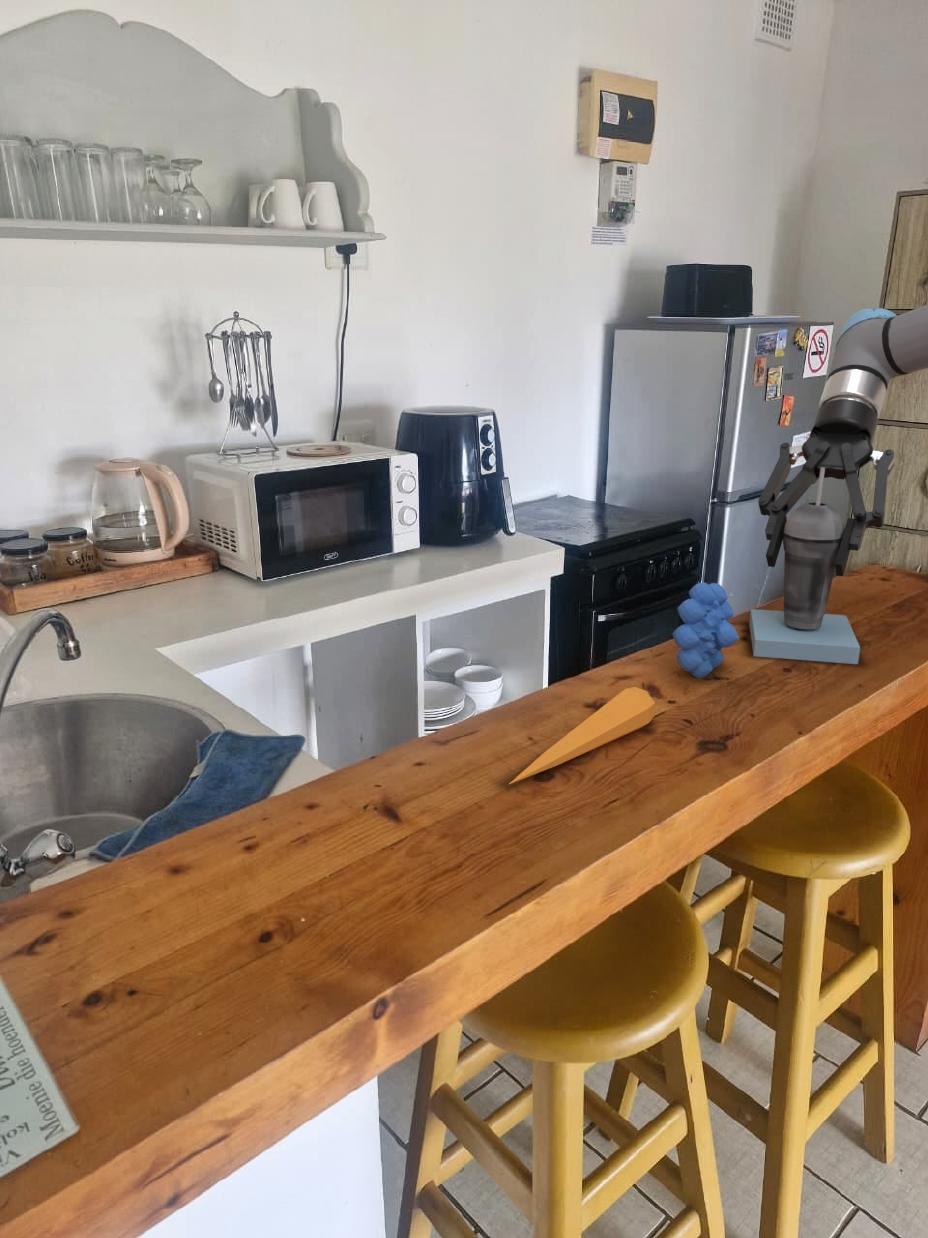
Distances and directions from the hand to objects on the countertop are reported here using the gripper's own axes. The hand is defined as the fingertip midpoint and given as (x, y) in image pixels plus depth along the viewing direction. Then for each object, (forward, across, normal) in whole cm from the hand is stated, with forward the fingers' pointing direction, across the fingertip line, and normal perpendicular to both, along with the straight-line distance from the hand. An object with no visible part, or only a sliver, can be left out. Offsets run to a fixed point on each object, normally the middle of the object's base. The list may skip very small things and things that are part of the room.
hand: (804, 565), depth 105 cm
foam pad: (+6, 0, -10) cm, 12 cm away
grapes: (+18, +7, +1) cm, 19 cm away
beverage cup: (+4, 0, -9) cm, 9 cm away
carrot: (+35, +12, +18) cm, 41 cm away
